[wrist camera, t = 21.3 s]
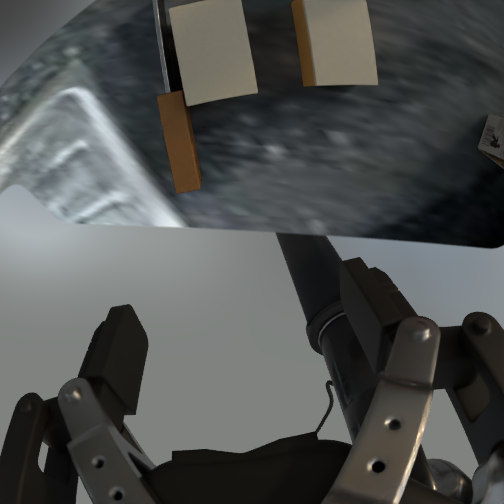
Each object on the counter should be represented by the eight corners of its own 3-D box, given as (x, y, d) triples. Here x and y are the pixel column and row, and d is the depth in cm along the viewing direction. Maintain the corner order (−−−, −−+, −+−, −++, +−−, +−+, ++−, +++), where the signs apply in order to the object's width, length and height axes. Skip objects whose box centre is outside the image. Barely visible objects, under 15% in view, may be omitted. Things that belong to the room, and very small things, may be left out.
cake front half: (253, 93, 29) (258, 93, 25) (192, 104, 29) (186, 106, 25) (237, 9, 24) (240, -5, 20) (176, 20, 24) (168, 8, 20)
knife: (202, 179, 33) (199, 191, 29) (181, 183, 33) (175, 195, 29) (172, -8, 22) (165, -21, 18) (150, -2, 22) (140, -14, 18)
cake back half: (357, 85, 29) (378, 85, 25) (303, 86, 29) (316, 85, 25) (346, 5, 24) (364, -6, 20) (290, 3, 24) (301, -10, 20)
